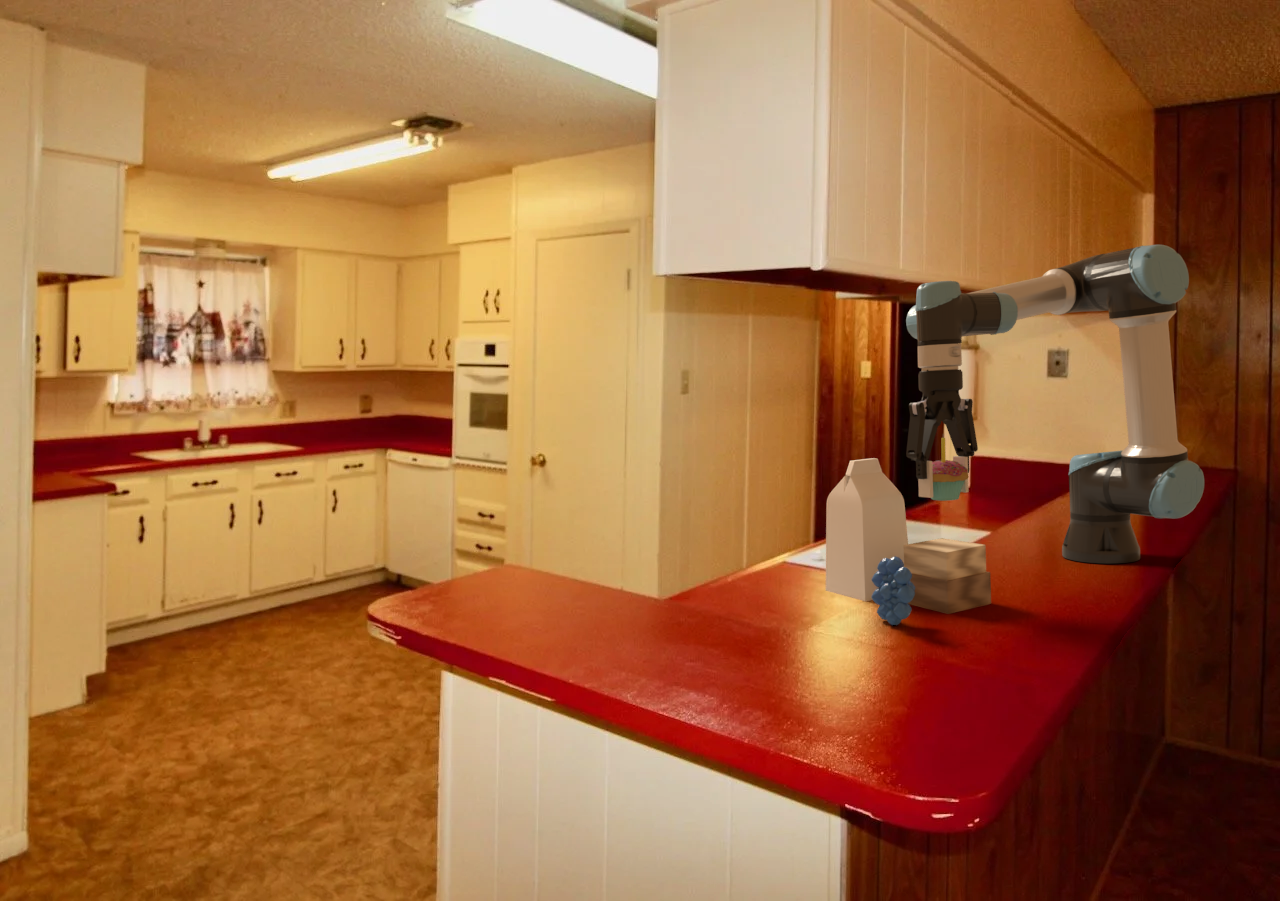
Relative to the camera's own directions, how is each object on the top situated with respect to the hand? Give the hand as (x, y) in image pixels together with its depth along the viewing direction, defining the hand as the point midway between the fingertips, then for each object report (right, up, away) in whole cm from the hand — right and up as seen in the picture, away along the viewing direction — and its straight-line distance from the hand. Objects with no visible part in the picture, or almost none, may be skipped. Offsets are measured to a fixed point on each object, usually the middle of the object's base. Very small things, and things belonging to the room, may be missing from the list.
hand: (943, 494), depth 161 cm
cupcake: (0, -1, 0) cm, 1 cm away
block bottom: (+1, -20, +1) cm, 20 cm away
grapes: (-11, -22, -11) cm, 27 cm away
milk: (-10, -20, +14) cm, 26 cm away
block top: (0, -14, +1) cm, 14 cm away
